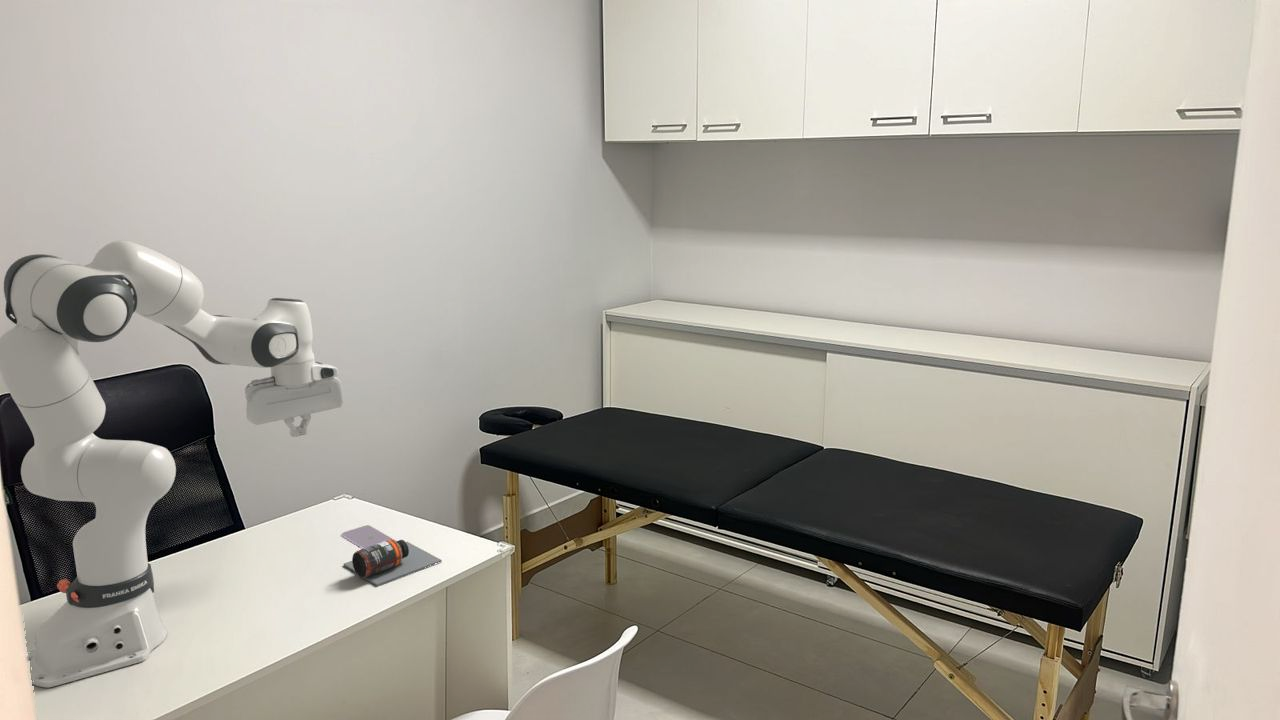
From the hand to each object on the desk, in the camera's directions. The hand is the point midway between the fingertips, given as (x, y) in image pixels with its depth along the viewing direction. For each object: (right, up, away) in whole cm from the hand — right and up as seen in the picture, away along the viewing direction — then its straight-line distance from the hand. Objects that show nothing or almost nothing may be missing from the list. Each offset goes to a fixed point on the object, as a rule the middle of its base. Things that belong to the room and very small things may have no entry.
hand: (298, 435), depth 190 cm
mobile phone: (+10, -27, +17) cm, 33 cm away
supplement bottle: (+14, -27, -4) cm, 31 cm away
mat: (+19, -29, +5) cm, 35 cm away
